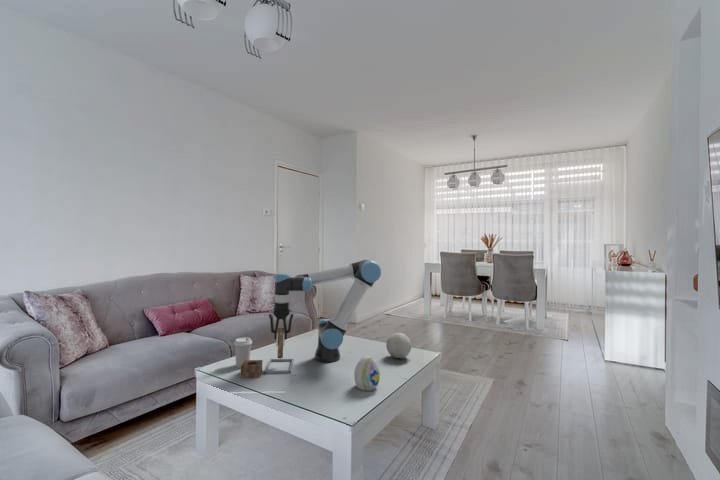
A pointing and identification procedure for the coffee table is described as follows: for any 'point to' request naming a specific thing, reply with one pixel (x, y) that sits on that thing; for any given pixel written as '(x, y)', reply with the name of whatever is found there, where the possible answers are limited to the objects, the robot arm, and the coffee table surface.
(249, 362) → the cup block
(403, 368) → the coffee table surface
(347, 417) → the coffee table surface
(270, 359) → the gray rectangular frame
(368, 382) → the decorative egg
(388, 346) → the decorative sphere
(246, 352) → the coffee cup
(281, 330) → the dowel
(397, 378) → the coffee table surface
